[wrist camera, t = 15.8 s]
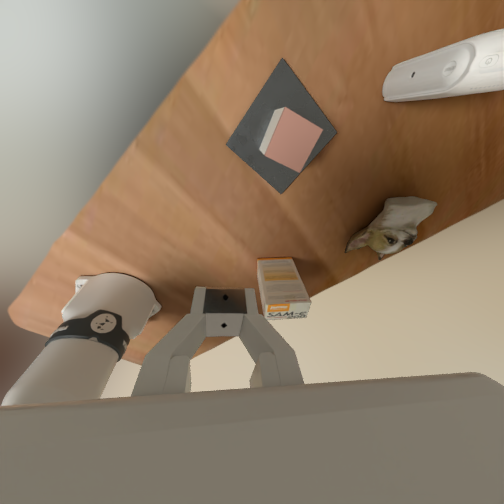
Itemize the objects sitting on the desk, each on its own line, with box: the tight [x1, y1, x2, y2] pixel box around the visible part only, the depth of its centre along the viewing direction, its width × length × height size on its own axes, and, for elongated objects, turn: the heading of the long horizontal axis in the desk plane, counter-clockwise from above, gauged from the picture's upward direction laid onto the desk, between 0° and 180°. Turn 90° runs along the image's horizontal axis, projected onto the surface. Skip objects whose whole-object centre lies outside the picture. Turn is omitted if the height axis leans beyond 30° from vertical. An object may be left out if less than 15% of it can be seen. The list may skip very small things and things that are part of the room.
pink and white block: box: [259, 107, 323, 173], centre depth 24 cm, size 5×5×7 cm
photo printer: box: [382, 29, 504, 102], centre depth 20 cm, size 10×4×12 cm, turn 95°
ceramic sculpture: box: [345, 196, 437, 260], centre depth 35 cm, size 11×9×15 cm
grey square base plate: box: [226, 58, 337, 194], centre depth 25 cm, size 12×12×6 cm
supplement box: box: [257, 257, 311, 320], centre depth 37 cm, size 8×5×13 cm, turn 88°
